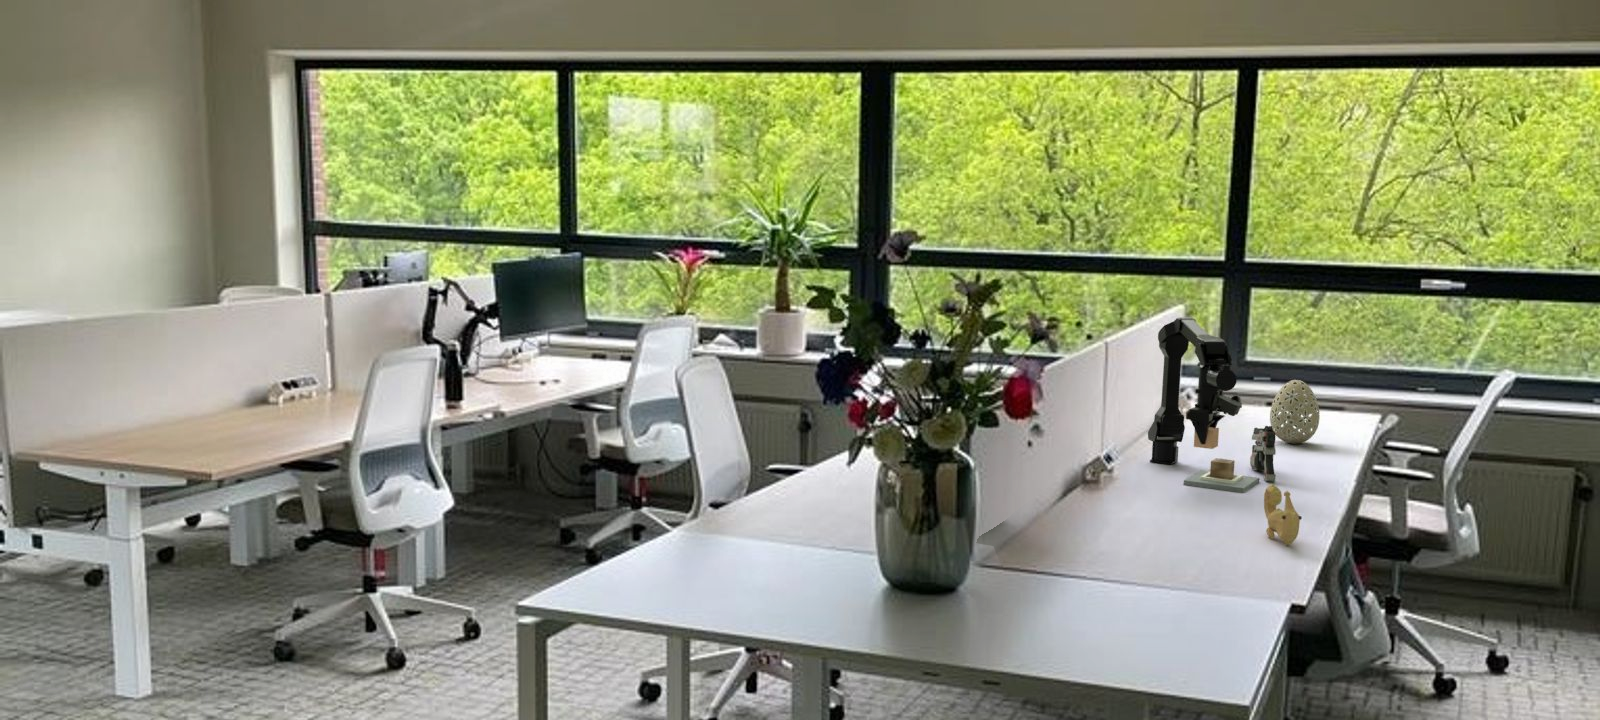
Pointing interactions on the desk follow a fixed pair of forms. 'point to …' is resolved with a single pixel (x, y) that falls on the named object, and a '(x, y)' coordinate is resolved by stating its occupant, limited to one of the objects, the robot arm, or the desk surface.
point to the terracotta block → (1208, 439)
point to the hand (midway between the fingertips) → (1206, 442)
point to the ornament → (1294, 413)
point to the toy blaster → (1264, 452)
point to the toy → (1280, 515)
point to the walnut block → (1222, 469)
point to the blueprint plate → (1221, 482)
